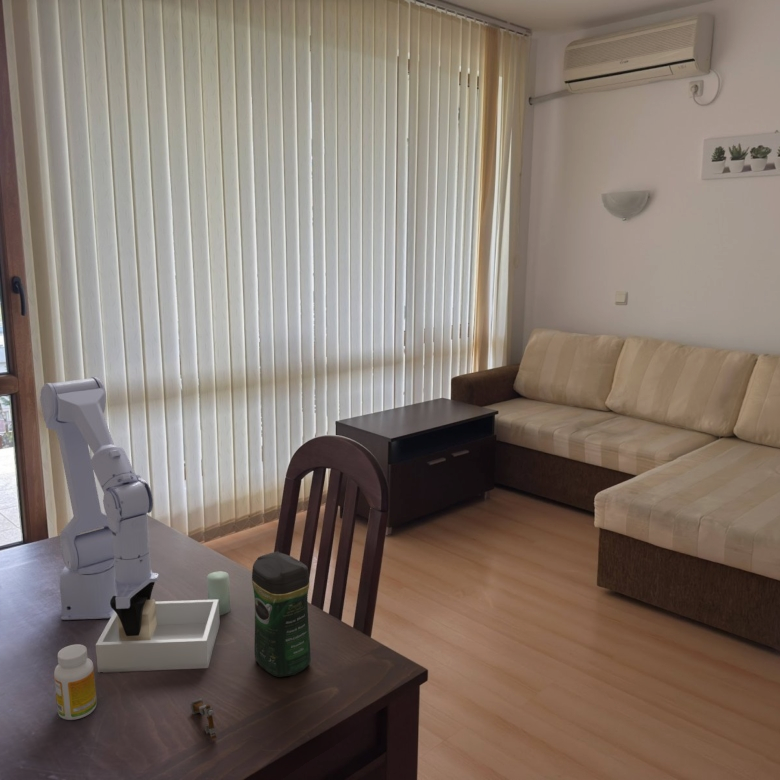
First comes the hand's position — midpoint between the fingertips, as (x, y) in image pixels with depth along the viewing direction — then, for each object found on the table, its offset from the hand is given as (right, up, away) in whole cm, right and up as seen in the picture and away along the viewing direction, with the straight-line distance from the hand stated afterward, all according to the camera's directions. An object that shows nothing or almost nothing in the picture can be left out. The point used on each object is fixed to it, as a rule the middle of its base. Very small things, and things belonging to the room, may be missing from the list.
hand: (137, 625), depth 123 cm
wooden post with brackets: (+16, -9, -18) cm, 26 cm away
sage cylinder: (+11, -1, +14) cm, 17 cm away
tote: (+4, -4, +1) cm, 6 cm away
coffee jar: (+25, -5, -3) cm, 26 cm away
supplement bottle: (-4, -8, -15) cm, 17 cm away
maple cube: (0, -1, 0) cm, 2 cm away
